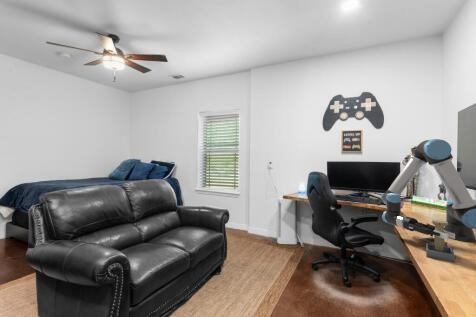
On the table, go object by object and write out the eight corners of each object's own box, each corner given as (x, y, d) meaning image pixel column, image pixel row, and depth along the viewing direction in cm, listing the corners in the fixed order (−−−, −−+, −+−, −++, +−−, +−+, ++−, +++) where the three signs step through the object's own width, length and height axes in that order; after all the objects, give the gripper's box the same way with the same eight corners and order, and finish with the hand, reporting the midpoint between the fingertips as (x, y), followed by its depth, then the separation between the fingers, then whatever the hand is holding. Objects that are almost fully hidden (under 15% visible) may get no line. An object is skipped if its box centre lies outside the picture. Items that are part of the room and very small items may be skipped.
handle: (431, 247, 126) (431, 219, 126) (447, 250, 122) (447, 221, 121) (430, 250, 122) (431, 221, 122) (447, 253, 118) (448, 223, 118)
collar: (432, 242, 140) (432, 237, 140) (447, 247, 132) (447, 242, 132) (419, 243, 138) (419, 238, 138) (434, 249, 130) (434, 244, 130)
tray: (426, 249, 130) (426, 243, 130) (451, 254, 123) (452, 247, 123) (426, 256, 121) (426, 250, 120) (454, 262, 114) (454, 255, 114)
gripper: (418, 228, 141) (463, 242, 118) (395, 230, 138) (437, 245, 115) (418, 215, 141) (464, 227, 118) (395, 217, 137) (437, 230, 114)
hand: (451, 236), depth 116 cm, fingers closed on handle, 3 cm apart
